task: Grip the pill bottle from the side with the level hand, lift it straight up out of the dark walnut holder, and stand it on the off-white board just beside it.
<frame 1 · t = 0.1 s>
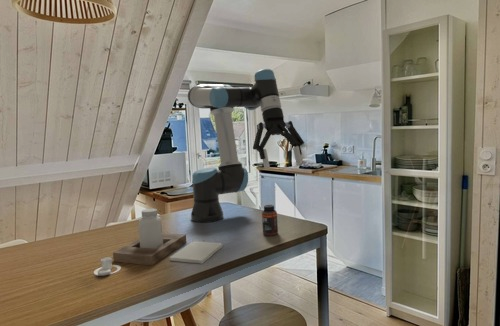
hand: (283, 166, 124), 28 cm above the table, tool tilted 20°, fingers open, 13 cm apart
holder: (152, 251, 123), on the table
pill bottle: (152, 251, 123), resting in holder
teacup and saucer: (97, 275, 107), on the table
supplement bottle: (270, 234, 137), on the table
board: (197, 252, 120), on the table
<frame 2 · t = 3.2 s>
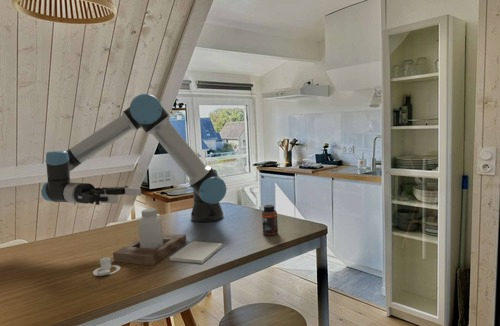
hand: (129, 195, 124), 20 cm above the table, tool horizontal, fingers open, 13 cm apart
nothing on the table moved.
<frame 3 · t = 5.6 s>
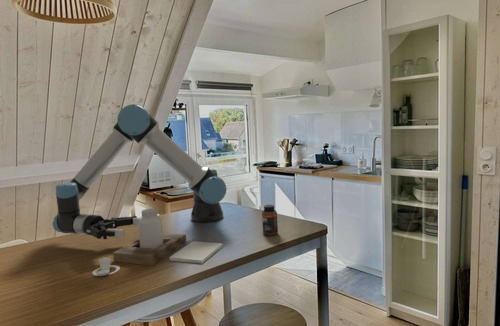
hand: (136, 227, 124), 8 cm above the table, tool horizontal, fingers open, 13 cm apart
nothing on the table moved.
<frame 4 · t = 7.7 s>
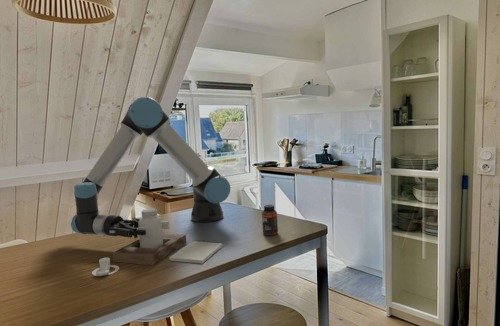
hand: (162, 228, 121), 9 cm above the table, tool horizontal, fingers closed on pill bottle, 8 cm apart
pill bottle: (152, 251, 123), resting in holder, touching gripper
everything else where it was.
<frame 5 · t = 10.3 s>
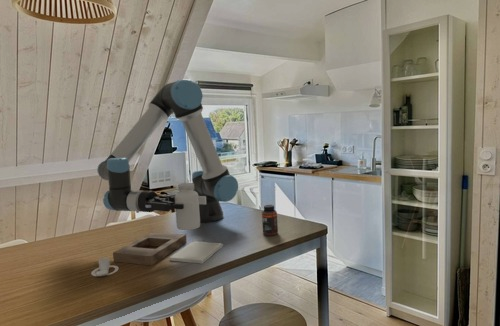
hand: (199, 203, 116), 18 cm above the table, tool horizontal, fingers closed on pill bottle, 8 cm apart
pill bottle: (188, 227, 118), point 9 cm above the table, touching gripper
everything else where it was.
when the fingers open (10 cm above the table, at t = 12.7 s): pill bottle stays where it is, resting on board.
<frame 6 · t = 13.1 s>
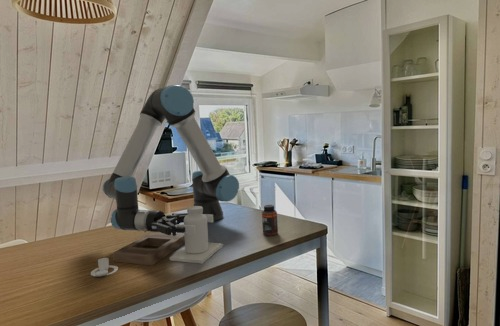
hand: (204, 223, 117), 10 cm above the table, tool horizontal, fingers open, 13 cm apart
pill bottle: (197, 250, 119), point 1 cm above the table, touching board
everything else where it was.
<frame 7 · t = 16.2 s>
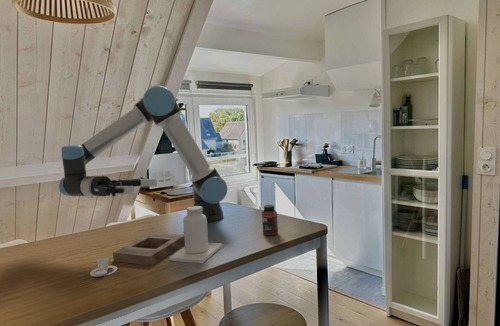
hand: (145, 186, 123), 23 cm above the table, tool horizontal, fingers open, 13 cm apart
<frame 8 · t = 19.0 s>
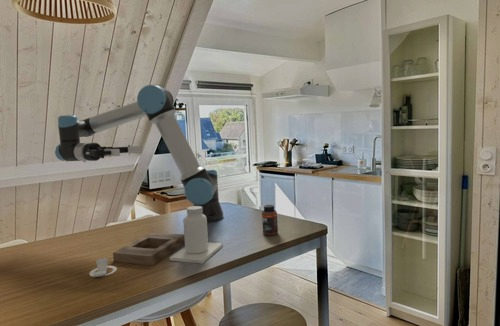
hand: (130, 150, 138), 35 cm above the table, tool horizontal, fingers open, 13 cm apart
at the end: pill bottle inside the target area on the board (0.1 cm from its centre), point 0.8 cm above the board's base; pill bottle tilted 0°; the gripper is holding nothing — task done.
